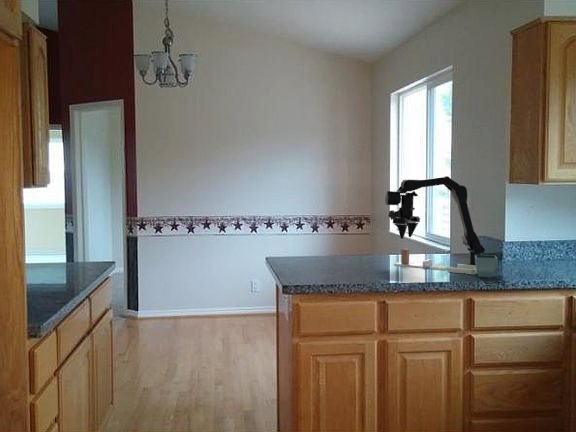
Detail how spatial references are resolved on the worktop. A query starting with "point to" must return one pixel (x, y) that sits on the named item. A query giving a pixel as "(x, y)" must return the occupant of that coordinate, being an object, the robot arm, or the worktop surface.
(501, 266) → the worktop surface
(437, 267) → the tile
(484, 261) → the flower pot
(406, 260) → the metal bookend
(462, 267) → the corral
